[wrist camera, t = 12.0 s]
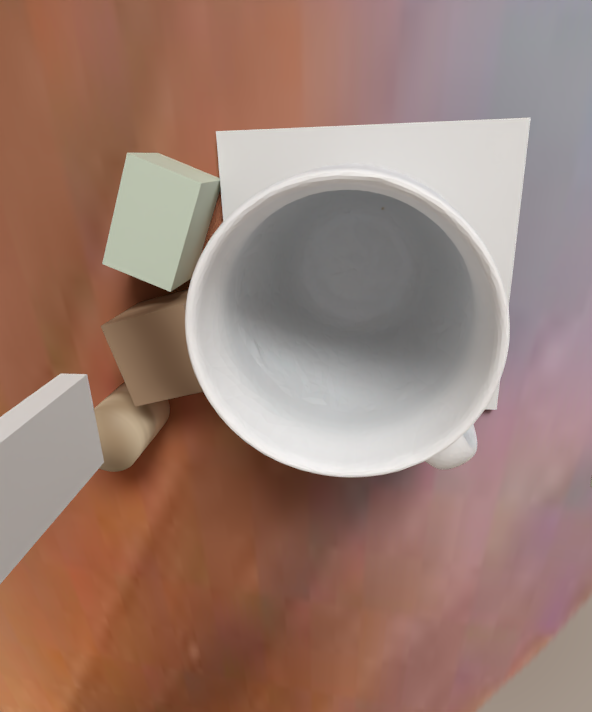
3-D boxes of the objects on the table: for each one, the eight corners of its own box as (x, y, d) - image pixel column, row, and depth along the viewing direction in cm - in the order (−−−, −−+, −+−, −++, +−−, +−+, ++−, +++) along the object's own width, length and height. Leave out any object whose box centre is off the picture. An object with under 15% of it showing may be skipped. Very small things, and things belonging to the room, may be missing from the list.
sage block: (134, 251, 32) (102, 263, 28) (158, 152, 30) (127, 152, 26) (194, 276, 32) (170, 291, 28) (223, 179, 30) (201, 183, 26)
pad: (240, 396, 34) (237, 400, 34) (219, 131, 29) (215, 131, 28) (494, 405, 32) (496, 409, 31) (527, 118, 26) (530, 117, 26)
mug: (533, 339, 30) (638, 469, 17) (372, 433, 33) (367, 593, 21) (381, 112, 27) (381, 80, 14) (222, 243, 30) (117, 304, 18)
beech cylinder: (119, 430, 37) (81, 469, 32) (110, 377, 35) (69, 411, 31) (173, 432, 36) (142, 473, 32) (166, 379, 35) (133, 414, 30)
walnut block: (167, 372, 35) (135, 406, 30) (139, 301, 33) (100, 325, 28) (237, 356, 33) (214, 389, 29) (211, 282, 32) (182, 304, 27)
